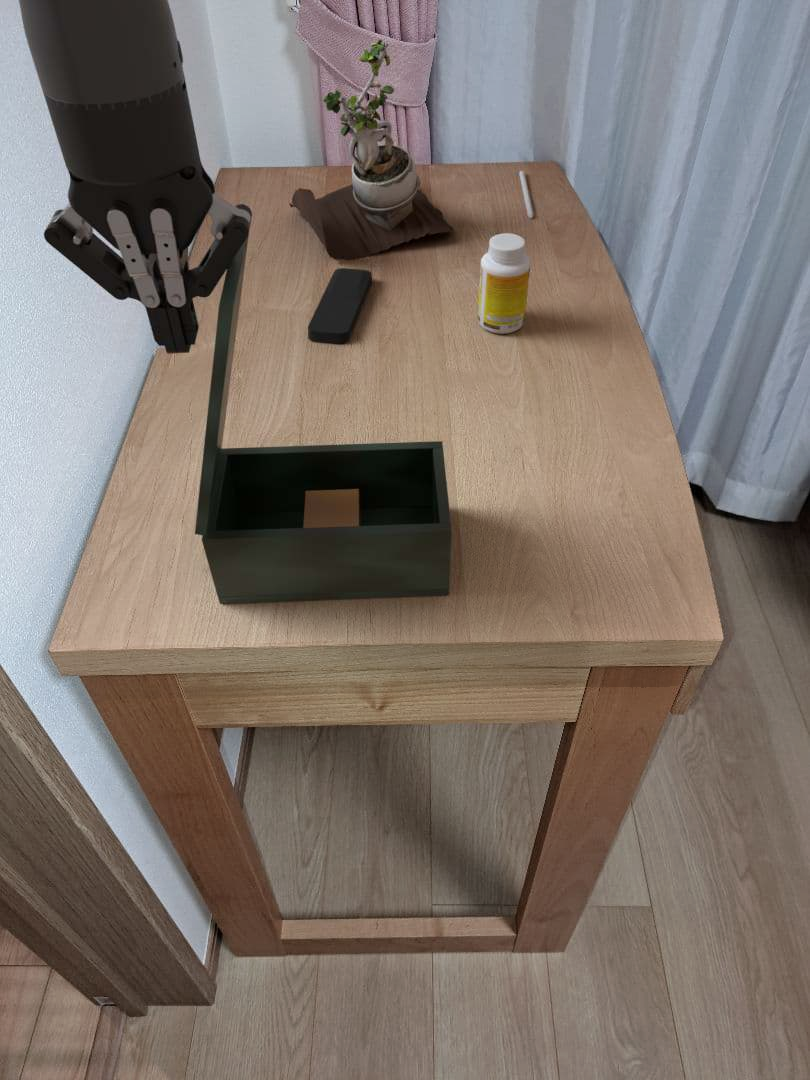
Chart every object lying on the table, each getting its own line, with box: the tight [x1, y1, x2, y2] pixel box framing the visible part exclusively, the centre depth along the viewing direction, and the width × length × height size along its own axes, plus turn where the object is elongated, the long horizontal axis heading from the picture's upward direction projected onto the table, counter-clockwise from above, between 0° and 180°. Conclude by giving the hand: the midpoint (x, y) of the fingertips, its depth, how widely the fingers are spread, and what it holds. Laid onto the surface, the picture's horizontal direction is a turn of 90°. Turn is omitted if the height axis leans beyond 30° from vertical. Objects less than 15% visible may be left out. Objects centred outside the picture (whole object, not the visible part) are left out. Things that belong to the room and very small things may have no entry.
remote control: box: [307, 267, 374, 344], centre depth 100 cm, size 5×2×15 cm
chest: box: [201, 440, 453, 605], centre depth 70 cm, size 19×11×8 cm, turn 92°
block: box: [303, 489, 362, 528], centre depth 71 cm, size 5×5×5 cm
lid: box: [194, 233, 250, 536], centre depth 60 cm, size 20×11×1 cm
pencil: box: [518, 170, 535, 219], centre depth 121 cm, size 1×1×15 cm
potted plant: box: [288, 38, 457, 261], centre depth 108 cm, size 20×19×25 cm
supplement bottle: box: [477, 232, 531, 335], centre depth 94 cm, size 6×6×10 cm
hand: (180, 346), depth 57 cm, fingers closed
